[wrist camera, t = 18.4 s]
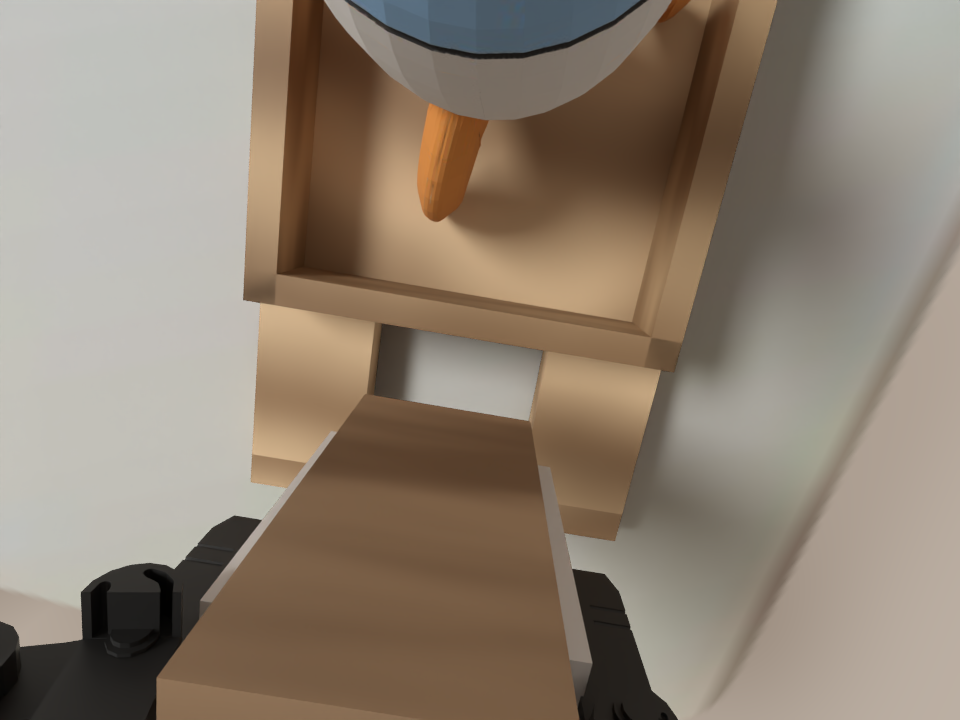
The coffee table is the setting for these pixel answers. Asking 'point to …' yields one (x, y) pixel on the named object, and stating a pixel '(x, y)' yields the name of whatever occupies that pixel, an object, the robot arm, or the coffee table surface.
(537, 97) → the toy rocket
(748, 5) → the tray
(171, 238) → the coffee table surface
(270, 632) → the block
